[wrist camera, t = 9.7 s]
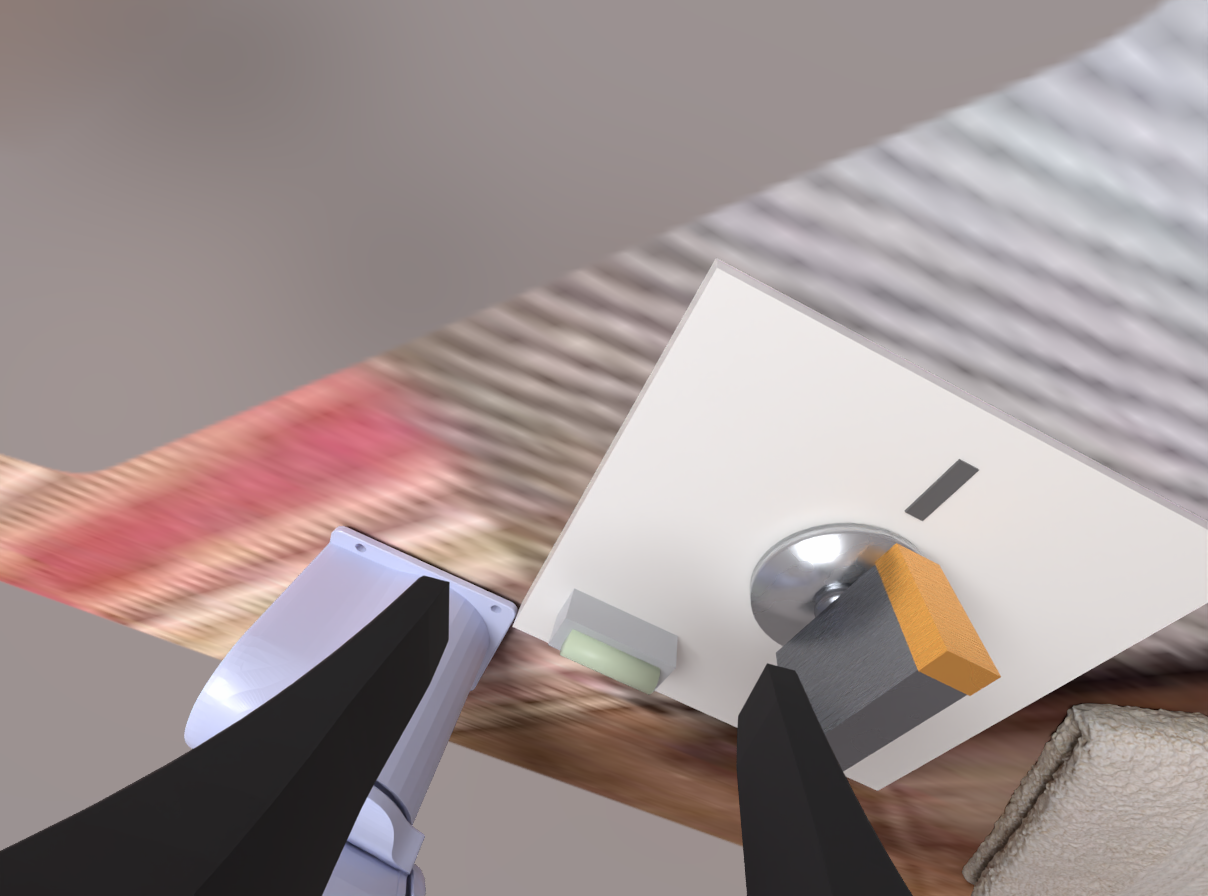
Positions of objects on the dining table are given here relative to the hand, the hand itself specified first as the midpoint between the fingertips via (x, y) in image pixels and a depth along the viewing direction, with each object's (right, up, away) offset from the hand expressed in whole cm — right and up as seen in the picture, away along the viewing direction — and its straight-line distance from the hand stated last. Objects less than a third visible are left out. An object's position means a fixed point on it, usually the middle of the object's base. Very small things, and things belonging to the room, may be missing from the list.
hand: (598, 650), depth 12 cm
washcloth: (+27, -14, +15) cm, 34 cm away
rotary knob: (+9, -1, +8) cm, 12 cm away
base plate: (+9, -1, +10) cm, 13 cm away
